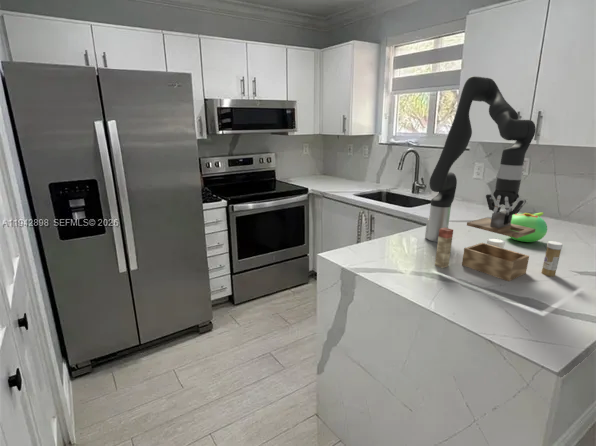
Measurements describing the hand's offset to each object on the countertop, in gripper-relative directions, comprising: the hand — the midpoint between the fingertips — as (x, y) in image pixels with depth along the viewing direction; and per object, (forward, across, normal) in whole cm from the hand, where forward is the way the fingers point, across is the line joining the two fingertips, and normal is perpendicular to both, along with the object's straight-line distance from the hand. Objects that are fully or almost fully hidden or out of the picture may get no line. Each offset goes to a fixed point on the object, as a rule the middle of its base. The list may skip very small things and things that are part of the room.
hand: (500, 223), depth 132 cm
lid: (+2, 0, 0) cm, 2 cm away
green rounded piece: (+20, +12, -51) cm, 56 cm away
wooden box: (+19, 0, 0) cm, 19 cm away
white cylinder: (+20, +9, -18) cm, 28 cm away
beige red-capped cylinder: (+20, +13, +14) cm, 27 cm away
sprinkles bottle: (+20, -14, -13) cm, 27 cm away
